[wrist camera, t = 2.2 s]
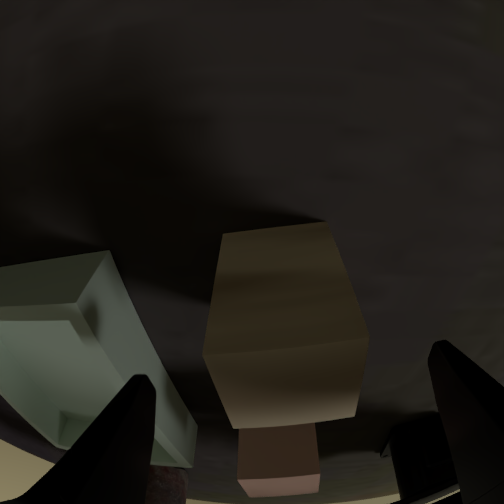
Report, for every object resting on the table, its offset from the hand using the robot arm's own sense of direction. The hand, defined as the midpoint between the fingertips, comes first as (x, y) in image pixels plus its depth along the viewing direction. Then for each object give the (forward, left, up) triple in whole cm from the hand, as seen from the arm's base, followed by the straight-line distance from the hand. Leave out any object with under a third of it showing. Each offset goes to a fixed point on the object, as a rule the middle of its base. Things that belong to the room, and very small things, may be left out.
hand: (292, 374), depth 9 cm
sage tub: (-5, +13, -5) cm, 15 cm away
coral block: (-10, +1, -5) cm, 11 cm away
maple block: (0, 0, -5) cm, 5 cm away
